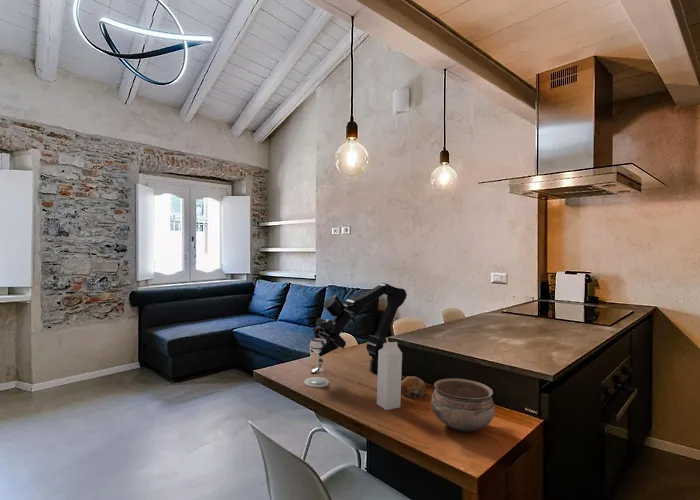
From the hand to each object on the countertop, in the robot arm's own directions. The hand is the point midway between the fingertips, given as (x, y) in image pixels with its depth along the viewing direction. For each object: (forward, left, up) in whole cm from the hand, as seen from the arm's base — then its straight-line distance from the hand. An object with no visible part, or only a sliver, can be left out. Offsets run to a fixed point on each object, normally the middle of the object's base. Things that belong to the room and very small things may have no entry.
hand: (315, 353), depth 154 cm
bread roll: (-35, +17, -12) cm, 41 cm away
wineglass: (-1, 0, -7) cm, 7 cm away
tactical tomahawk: (-7, -21, -13) cm, 26 cm away
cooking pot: (-37, +47, -12) cm, 61 cm away
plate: (-1, 0, -12) cm, 12 cm away
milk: (-21, +27, -12) cm, 36 cm away
